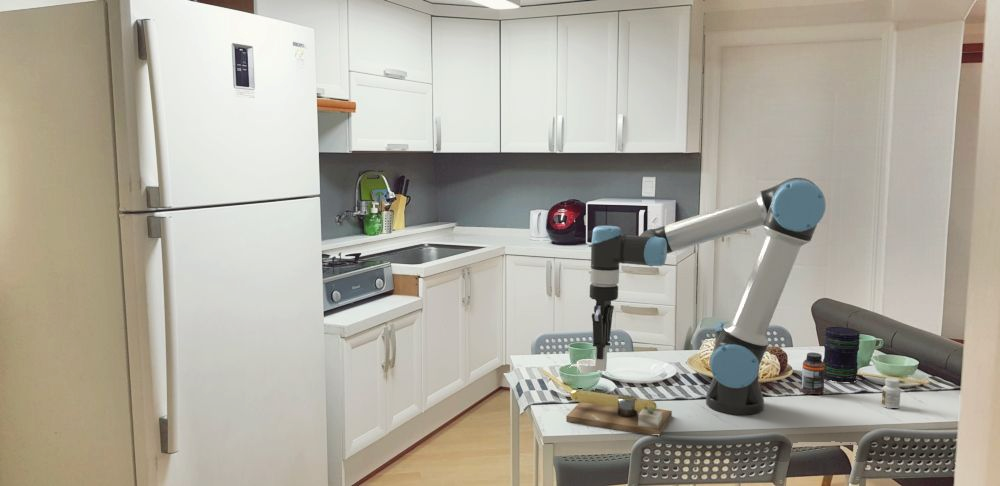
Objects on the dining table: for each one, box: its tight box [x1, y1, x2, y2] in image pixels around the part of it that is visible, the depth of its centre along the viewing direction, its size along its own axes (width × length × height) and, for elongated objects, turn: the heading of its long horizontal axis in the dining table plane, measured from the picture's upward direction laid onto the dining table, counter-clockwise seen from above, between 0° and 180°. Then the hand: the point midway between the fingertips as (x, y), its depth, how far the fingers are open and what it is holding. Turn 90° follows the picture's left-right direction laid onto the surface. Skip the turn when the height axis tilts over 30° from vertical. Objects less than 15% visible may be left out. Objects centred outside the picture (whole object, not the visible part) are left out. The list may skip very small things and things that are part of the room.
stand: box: [565, 402, 673, 436], centre depth 201 cm, size 24×15×6 cm, turn 66°
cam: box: [569, 389, 657, 417], centre depth 202 cm, size 23×5×4 cm, turn 66°
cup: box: [568, 358, 598, 391], centre depth 225 cm, size 7×10×8 cm
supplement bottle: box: [801, 352, 825, 395], centre depth 223 cm, size 6×6×11 cm
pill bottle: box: [881, 377, 902, 409], centre depth 211 cm, size 4×4×8 cm
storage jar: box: [822, 326, 861, 382], centre depth 235 cm, size 10×10×15 cm
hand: (600, 369), depth 209 cm, fingers closed
